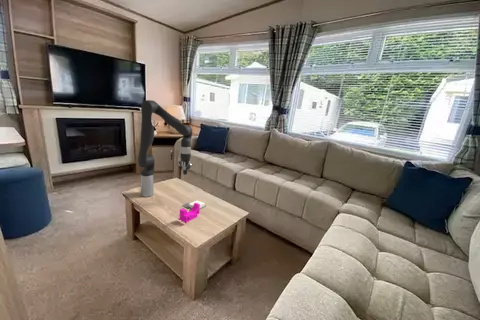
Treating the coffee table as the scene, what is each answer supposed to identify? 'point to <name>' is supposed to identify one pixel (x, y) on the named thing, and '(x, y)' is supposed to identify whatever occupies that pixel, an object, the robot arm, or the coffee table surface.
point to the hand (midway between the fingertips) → (185, 174)
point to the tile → (198, 203)
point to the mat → (189, 207)
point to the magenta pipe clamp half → (189, 213)
